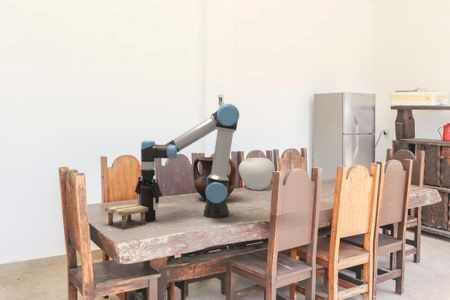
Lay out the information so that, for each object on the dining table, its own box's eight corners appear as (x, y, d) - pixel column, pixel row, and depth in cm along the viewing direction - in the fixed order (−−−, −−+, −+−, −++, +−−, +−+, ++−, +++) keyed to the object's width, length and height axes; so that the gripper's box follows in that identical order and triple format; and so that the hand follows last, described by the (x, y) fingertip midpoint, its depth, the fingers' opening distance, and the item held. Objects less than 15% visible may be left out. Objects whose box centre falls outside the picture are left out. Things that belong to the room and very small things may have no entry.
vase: (257, 185, 367) (257, 156, 365) (281, 189, 347) (281, 158, 345) (232, 188, 349) (232, 158, 347) (255, 193, 329) (256, 160, 327)
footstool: (148, 223, 235) (148, 207, 234) (123, 229, 223) (123, 212, 222) (129, 219, 245) (129, 203, 244) (105, 224, 233) (105, 207, 232)
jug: (241, 197, 312) (241, 155, 309) (232, 205, 284) (232, 159, 282) (198, 195, 319) (198, 154, 317) (185, 202, 292) (185, 158, 290)
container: (157, 218, 247) (157, 183, 245) (155, 222, 238) (155, 186, 237) (141, 218, 247) (141, 183, 245) (139, 222, 238) (138, 186, 236)
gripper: (168, 170, 235) (168, 209, 236) (139, 166, 251) (139, 203, 253) (157, 171, 229) (157, 211, 231) (128, 167, 246) (128, 205, 247)
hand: (147, 207), depth 242 cm, fingers open, 13 cm apart
